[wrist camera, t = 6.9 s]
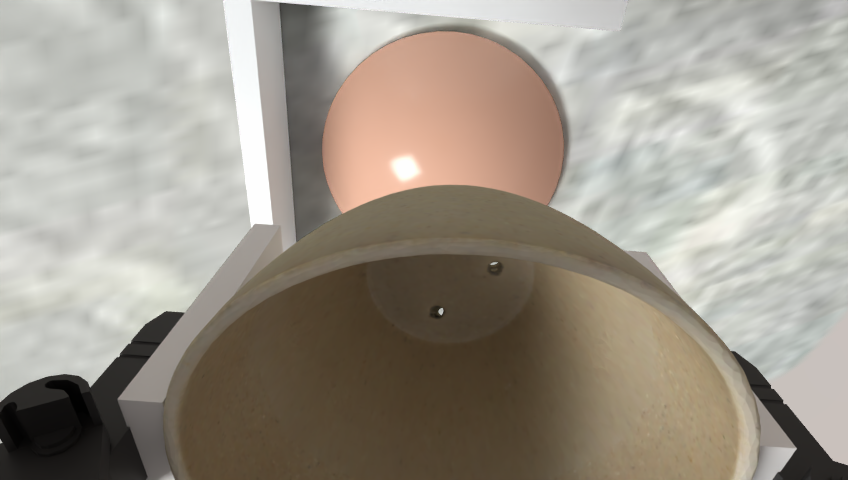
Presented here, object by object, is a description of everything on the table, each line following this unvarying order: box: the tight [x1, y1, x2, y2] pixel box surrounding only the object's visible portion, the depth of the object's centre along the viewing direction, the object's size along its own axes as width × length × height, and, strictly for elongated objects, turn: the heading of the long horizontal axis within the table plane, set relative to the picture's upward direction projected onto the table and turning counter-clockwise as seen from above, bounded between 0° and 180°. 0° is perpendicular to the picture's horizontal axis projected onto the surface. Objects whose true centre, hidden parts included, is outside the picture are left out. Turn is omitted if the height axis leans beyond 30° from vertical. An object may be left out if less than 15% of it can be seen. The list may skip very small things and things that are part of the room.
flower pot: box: [163, 185, 761, 480], centre depth 11 cm, size 10×10×7 cm
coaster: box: [322, 31, 564, 213], centre depth 27 cm, size 14×14×1 cm
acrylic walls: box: [223, 0, 628, 252], centre depth 25 cm, size 16×17×4 cm
